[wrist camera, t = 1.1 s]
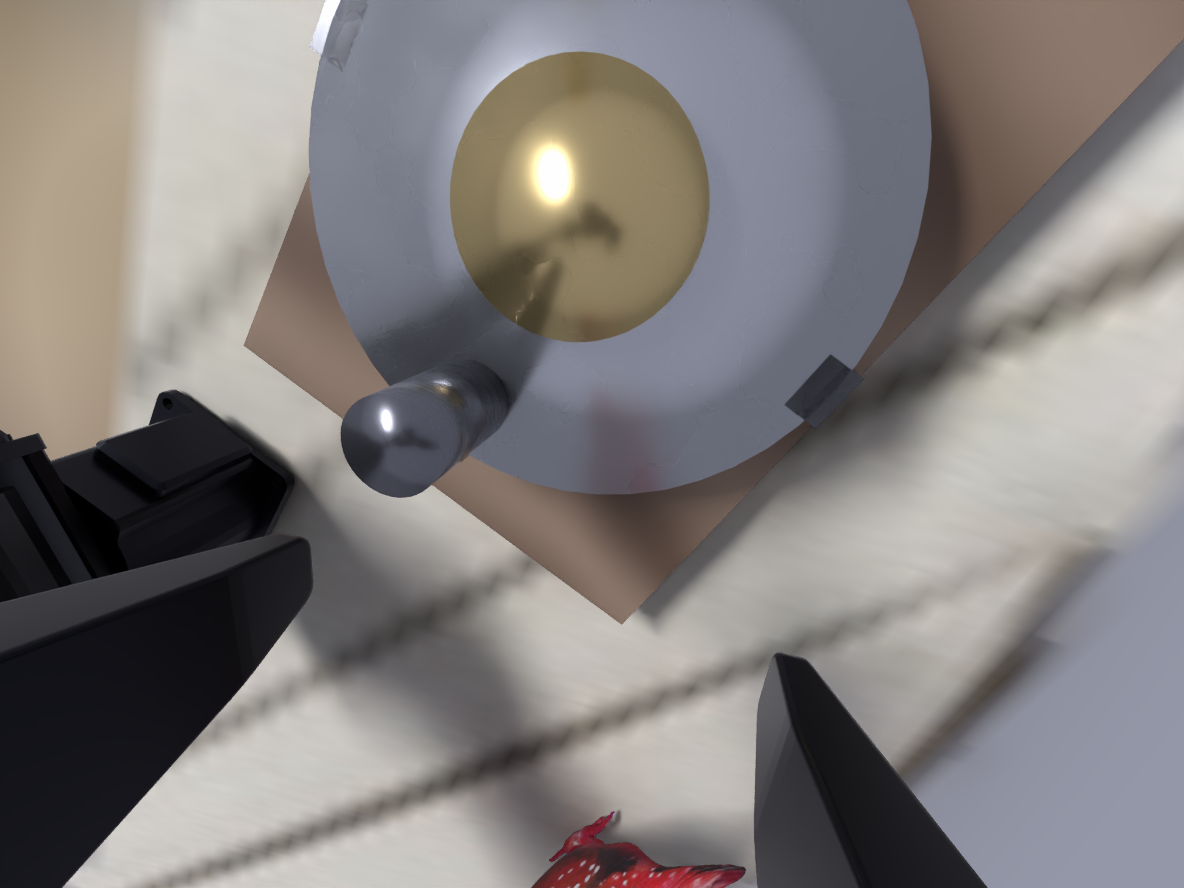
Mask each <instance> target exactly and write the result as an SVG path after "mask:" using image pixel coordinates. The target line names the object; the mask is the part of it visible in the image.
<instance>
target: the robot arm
mask: <svg viewBox="0 0 1184 888" xmlns="http://www.w3.org/2000/svg"><path fill="white" fill-rule="evenodd" d="M46 448H47V447H46V445H45V444H44V442H43V440H42V438H41V436H40V435H39V433H37V434H34V435H30V436H26V437H22V438H19V439H15V440H13V439H12V437H11V435H10V434H8V435H7V434H6V433H4V432H2V431H1V430H0V888H62V887H63V886H64V885H65V884H66V883H67V882H68V881H69V879H70V878H71V877H72V876H73V875H74V874H75V873H76V872H77V871H78V869H79V868H80V867H81V866H82V865H83V864H84V863H85V862H86V861H87V859H88V858H89V857H90V856H91V855H92V854H93V853H94V852H95V851H96V849H97V848H98V847H99V846H100V845H101V844H102V843H103V842H104V840H105V839H106V838H107V837H108V836H109V835H110V834H111V833H112V832H113V830H114V829H115V828H116V827H117V826H118V825H119V824H120V823H121V822H122V820H123V819H124V818H125V817H126V816H127V815H128V814H129V813H130V812H131V810H132V809H133V808H134V807H135V806H136V805H137V804H138V803H139V801H140V800H141V799H142V798H143V797H144V796H145V795H146V794H147V793H148V791H149V790H150V789H151V788H152V787H153V786H154V785H155V784H156V783H157V781H158V780H159V779H160V778H161V777H162V776H163V775H164V774H165V772H166V771H167V770H168V769H169V768H170V767H171V766H172V765H173V764H174V762H175V761H176V760H177V759H178V758H179V757H180V756H181V755H182V754H183V752H184V751H185V750H186V749H187V748H188V747H189V746H190V745H191V744H192V742H193V741H194V740H195V739H196V738H197V737H198V736H199V735H200V733H201V732H202V731H203V730H204V729H205V728H206V727H207V726H208V725H209V723H210V722H211V721H212V720H213V719H214V718H215V717H216V716H217V715H218V713H219V712H220V711H221V710H222V709H223V708H224V707H225V706H226V705H227V703H228V702H229V701H230V700H231V699H232V698H233V697H234V695H235V694H236V693H237V692H238V691H239V690H240V688H241V687H242V686H243V685H244V684H245V682H246V681H247V680H248V679H249V677H250V676H251V675H252V673H253V672H254V671H255V670H256V668H257V667H258V666H259V664H260V663H261V662H262V660H263V659H264V658H265V656H266V655H267V654H268V652H269V651H270V650H271V648H272V647H273V646H274V644H275V643H276V642H277V640H278V639H279V638H280V636H281V635H282V634H283V632H284V631H285V630H286V628H287V627H288V626H289V624H290V623H291V622H292V620H293V619H294V618H295V616H296V615H297V614H298V612H299V611H300V610H301V608H302V607H303V606H304V604H305V603H306V602H307V600H308V598H309V596H310V594H311V592H312V588H313V572H312V560H311V548H310V544H309V542H308V541H307V540H306V539H305V538H303V537H299V536H295V535H291V534H287V533H276V534H272V535H270V534H271V532H272V529H273V527H274V525H275V523H276V521H277V519H278V517H279V515H280V513H281V511H282V509H283V507H284V505H285V503H286V501H287V499H288V497H289V495H290V492H291V490H292V488H293V486H294V480H293V477H292V475H291V474H290V473H289V472H288V471H287V470H285V469H284V468H283V467H281V466H280V465H278V464H277V463H276V462H274V461H273V460H272V459H270V458H269V457H268V456H266V455H265V454H263V453H262V452H261V451H259V450H258V449H257V448H255V447H254V446H253V445H251V444H250V443H248V442H247V441H246V440H244V439H243V438H242V437H240V436H239V435H238V434H236V433H235V432H234V431H232V430H231V429H229V428H228V427H227V426H225V425H224V424H223V423H221V422H220V421H219V420H217V419H216V418H214V417H213V416H212V415H210V414H209V413H208V412H206V411H205V410H204V409H202V408H201V407H199V406H198V405H197V404H195V403H194V402H193V401H191V400H190V399H189V398H187V397H186V396H184V395H183V394H182V393H180V392H179V391H177V390H169V391H165V392H162V393H160V394H159V396H158V398H157V401H156V404H155V407H154V410H153V413H152V417H151V420H150V423H149V425H148V426H145V427H142V428H139V429H136V430H133V431H129V432H126V433H123V434H120V435H117V436H114V437H111V438H107V439H104V440H101V441H99V442H98V443H97V444H96V446H95V447H92V448H89V449H86V450H83V451H80V452H77V453H74V454H71V455H68V456H64V457H61V458H58V459H55V460H52V461H50V460H49V458H48V456H47V454H46V453H45V451H44V449H46ZM279 480H280V481H281V483H282V484H281V483H280V482H279ZM754 843H755V861H756V873H757V885H758V888H987V886H986V885H985V884H984V883H983V881H982V880H981V879H980V878H979V876H978V875H977V874H976V872H975V871H974V870H973V869H972V867H971V866H970V865H969V864H968V862H967V861H966V860H965V859H964V857H963V856H962V855H961V854H960V852H959V851H958V850H957V848H956V847H955V846H954V845H953V843H952V842H951V841H950V840H949V838H948V837H947V836H946V834H945V833H944V832H943V831H942V829H941V828H940V827H939V826H938V824H937V823H936V822H935V821H934V819H933V818H932V817H931V815H930V814H929V813H928V812H927V810H926V809H925V808H924V807H923V805H922V804H921V803H920V802H919V800H918V799H917V798H916V796H915V795H914V794H913V793H912V791H911V790H910V789H909V788H908V786H907V785H906V784H905V783H904V781H903V780H902V779H901V777H900V776H899V775H898V774H897V772H896V771H895V770H894V769H893V767H892V766H891V765H890V764H889V762H888V761H887V760H886V758H885V757H884V756H883V755H882V753H881V752H880V751H879V750H878V748H877V747H876V746H875V745H874V743H873V742H872V741H871V740H870V738H869V737H868V736H867V734H866V733H865V732H864V731H863V729H862V728H861V727H860V726H859V724H858V723H857V722H856V721H855V719H854V718H853V717H852V715H851V714H850V713H849V712H848V710H847V709H846V708H845V707H844V705H843V704H842V703H841V702H840V700H839V699H838V698H837V696H836V695H835V694H834V693H833V691H832V690H831V689H830V688H829V686H828V685H827V684H826V683H825V681H824V680H823V679H822V677H821V676H820V675H819V674H818V672H817V671H816V670H815V669H814V667H813V666H812V665H811V664H810V663H809V662H808V661H807V660H806V659H804V658H801V657H796V656H792V655H788V654H784V653H776V654H774V655H773V657H772V659H771V662H770V665H769V668H768V672H767V675H766V678H765V682H764V685H763V689H762V692H761V696H760V699H759V704H758V712H757V735H756V769H755V804H754Z"/></svg>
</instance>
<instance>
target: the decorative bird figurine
mask: <svg viewBox="0 0 1184 888" xmlns="http://www.w3.org/2000/svg"><path fill="white" fill-rule="evenodd" d="M614 812H615V811H613V812H611V813H610V815H609V816H607V818H606V819H605V820H604V817H601V818H599V819H598V820H597V821H596V822H595V823H593V824H592V825H589V826H586V827H584V828H583V829H582V830H579V831H577V832H574V833H573V834H572V835H571V836H569V837H568V839H567V840H566V841H565V843H564V846H563V848H562V849H561V850H559V851H558V852H557V853H556V854H555V855H554V856H553V857H552V858H551V859H549V861H550V862H553V861H555V860H557V859H558V858H559V856H561V855H562V854H564V853H568V854H566V855H565V856H563V857H562V858H561V859H559V860H558V861H557V862H556V863H555V864H554V865H553V866H552V867H551V868H550V869H549V870H548V871H547V872H546V873H544V875H543V876H542V877H541V878H540V879H539V880H538V881H537V882H536V883H535V884H534V885H533V887H532V888H725V887H726V886H727V885H730V884H732V883H734V882H736V881H738V880H739V879H740V878H742V877H743V875H744V874H745V871H746V869H745V868H744V867H739V866H735V865H703V866H700V865H699V866H678V867H665V866H662V865H659V864H657V863H655V862H654V861H652V860H651V859H650V858H649V857H647V856H646V855H645V854H644V853H643V852H642V851H641V850H640V849H639V848H638V847H637V846H635V845H633V844H631V843H615V844H604V843H603V842H602V841H601V840H599V839H596V834H597V833H600V832H601V831H602V830H603V829H604V828H605V827H606V826H607V824H608V823H609V822H610V819H611V818H612V816H613V814H614ZM599 824H600V825H599Z"/></svg>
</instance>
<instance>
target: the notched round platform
mask: <svg viewBox="0 0 1184 888" xmlns="http://www.w3.org/2000/svg"><path fill="white" fill-rule="evenodd" d="M310 48H312V49H313V50H314V51H316V52H317V53H318V54H320V55H321V59H320V62H319V67H318V73H317V78H316V84H315V90H314V95H313V101H312V107H311V123H310V138H309V166H310V190H311V197H312V204H313V211H314V218H315V225H316V231H317V235H318V239H319V242H320V246H321V250H322V254H323V258H324V262H325V266H326V269H327V272H328V275H329V277H330V280H331V283H332V286H333V288H334V291H335V294H336V297H337V299H338V302H339V304H340V306H341V308H342V310H343V312H344V315H345V317H346V319H347V321H348V323H349V325H350V327H351V329H352V331H353V333H354V335H355V337H356V338H357V340H358V342H359V343H360V345H361V346H362V348H363V350H364V351H365V353H366V354H367V356H368V358H369V359H370V361H371V362H372V364H373V366H374V367H375V368H376V369H377V371H378V372H379V373H380V375H381V376H382V377H383V378H384V380H385V381H386V382H387V384H388V385H389V387H387V388H385V389H382V390H380V391H378V392H375V393H373V394H371V395H368V396H366V397H364V398H361V399H360V400H358V401H356V402H355V403H354V404H353V405H352V406H351V407H350V408H349V409H348V411H347V413H346V414H345V416H344V419H343V422H342V426H341V444H342V448H343V452H344V455H345V457H346V460H347V462H348V464H349V465H350V467H351V468H352V470H353V471H354V473H355V474H356V475H357V476H358V477H359V478H360V479H361V480H362V481H363V482H364V483H365V484H366V485H367V486H369V487H370V488H372V489H373V490H375V491H377V492H379V493H382V494H384V495H387V496H391V497H398V498H401V497H411V496H414V495H417V494H419V493H421V492H423V491H424V490H425V489H427V488H428V487H429V486H430V485H432V484H433V483H434V482H435V481H437V480H438V479H439V478H440V477H441V476H443V475H444V474H445V473H446V472H448V471H449V470H450V469H451V468H452V467H454V466H455V465H456V464H457V463H459V462H462V461H463V460H465V459H466V458H467V457H468V456H469V455H470V456H471V457H473V458H475V459H477V460H479V461H481V462H483V463H485V464H487V465H489V466H491V467H493V468H495V469H497V470H499V471H501V472H503V473H506V474H509V475H511V476H514V477H517V478H519V479H522V480H525V481H528V482H530V483H534V484H538V485H542V486H546V487H551V488H555V489H559V490H563V491H571V492H580V493H589V494H636V493H643V492H651V491H658V490H666V489H669V488H673V487H677V486H681V485H685V484H689V483H692V482H696V481H700V480H702V479H705V478H707V477H710V476H712V475H715V474H717V473H720V472H722V471H725V470H727V469H730V468H732V467H735V466H736V465H738V464H740V463H742V462H744V461H746V460H747V459H749V458H751V457H753V456H755V455H756V454H758V453H760V452H762V451H764V450H765V449H767V448H769V447H770V446H771V445H773V444H774V443H776V442H777V441H778V440H780V439H781V438H782V437H784V436H785V435H787V434H788V433H789V432H791V431H792V430H793V429H795V428H796V427H798V426H799V425H800V424H801V423H802V422H803V421H804V420H805V421H806V422H808V423H809V424H810V425H812V426H813V427H814V428H815V429H816V428H817V427H818V426H819V425H820V424H821V423H822V422H823V421H824V420H825V419H826V418H827V417H828V416H829V415H830V413H831V412H832V411H833V410H834V409H835V408H836V407H837V406H838V405H839V404H840V403H841V402H842V401H843V400H844V399H845V398H846V397H847V396H848V395H849V394H850V393H851V392H852V391H853V390H854V389H855V388H856V387H857V386H858V384H859V383H860V382H861V381H862V380H863V378H862V377H861V376H860V375H859V374H858V373H857V372H856V371H855V370H854V369H853V368H854V367H855V366H856V365H857V364H858V362H859V360H860V359H861V357H862V356H863V354H864V353H865V351H866V350H867V348H868V347H869V345H870V344H871V342H872V340H873V339H874V337H875V336H876V334H877V333H878V331H879V330H880V328H881V327H882V325H883V323H884V320H885V318H886V316H887V314H888V312H889V310H890V308H891V306H892V304H893V302H894V300H895V298H896V296H897V294H898V292H899V290H900V287H901V285H902V283H903V280H904V277H905V274H906V271H907V268H908V265H909V262H910V260H911V257H912V254H913V251H914V248H915V245H916V242H917V239H918V235H919V230H920V225H921V220H922V215H923V210H924V205H925V200H926V195H927V191H928V181H929V167H930V153H931V139H932V133H931V116H930V100H929V84H928V78H927V73H926V69H925V64H924V59H923V54H922V49H921V44H920V39H919V34H918V30H917V27H916V24H915V21H914V18H913V16H912V13H911V10H910V7H909V4H908V2H907V0H326V1H325V4H324V7H323V10H322V13H321V16H320V19H319V21H318V24H317V27H316V30H315V33H314V36H313V39H312V42H311V44H310Z"/></svg>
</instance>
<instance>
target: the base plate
mask: <svg viewBox="0 0 1184 888" xmlns="http://www.w3.org/2000/svg"><path fill="white" fill-rule="evenodd" d="M907 2H908V4H909V7H910V10H911V13H912V16H913V18H914V21H915V24H916V27H917V30H918V34H919V39H920V44H921V49H922V54H923V59H924V64H925V69H926V73H927V78H928V84H929V100H930V116H931V133H932V139H931V153H930V167H929V181H928V191H927V195H926V200H925V205H924V210H923V215H922V220H921V225H920V230H919V235H918V239H917V242H916V245H915V248H914V251H913V254H912V257H911V260H910V262H909V265H908V268H907V271H906V274H905V277H904V280H903V283H902V285H901V287H900V290H899V292H898V294H897V296H896V298H895V300H894V302H893V304H892V306H891V308H890V310H889V312H888V314H887V316H886V318H885V320H884V323H883V325H882V327H881V328H880V330H879V331H878V333H877V334H876V336H875V337H874V339H873V340H872V342H871V344H870V345H869V347H868V348H867V350H866V351H865V353H864V354H863V356H862V357H861V359H860V360H859V362H858V364H857V365H856V366H855V367H854V368H853V369H854V370H855V371H856V372H857V373H858V374H859V375H860V376H861V375H862V374H863V373H864V372H865V370H866V369H867V368H868V367H869V366H870V365H871V364H872V363H873V362H874V361H875V360H876V359H877V358H878V357H879V356H880V355H881V354H882V353H883V352H884V351H885V350H886V349H887V348H888V346H889V345H890V344H891V343H892V342H893V341H894V340H895V339H896V338H897V337H898V336H899V335H900V334H901V333H902V332H903V331H904V330H905V329H906V328H907V327H908V326H909V325H910V324H911V323H912V321H913V320H914V319H915V318H916V317H917V316H918V315H919V314H920V313H921V312H922V311H923V310H924V309H925V308H926V307H927V306H928V305H929V304H930V303H931V302H932V301H933V300H934V299H935V297H936V296H937V295H938V294H939V293H940V292H941V291H942V290H943V289H944V288H945V287H946V286H947V285H948V284H949V283H950V282H951V281H952V280H953V279H954V278H955V277H956V276H957V275H958V274H959V272H960V271H961V270H962V269H963V268H964V267H965V266H966V265H967V264H968V263H969V262H970V261H971V260H972V259H973V258H974V257H975V256H976V255H977V254H978V253H979V252H980V251H981V250H982V248H983V247H984V246H985V245H986V244H987V243H988V242H989V241H990V240H991V239H992V238H993V237H994V236H995V235H996V234H997V233H998V232H999V231H1000V230H1001V229H1002V228H1003V227H1004V226H1005V225H1006V223H1007V222H1008V221H1009V220H1010V219H1011V218H1012V217H1013V216H1014V215H1015V214H1016V213H1017V212H1018V211H1019V210H1020V209H1021V208H1022V207H1023V206H1024V205H1025V204H1026V203H1027V202H1028V201H1029V199H1030V198H1031V197H1032V196H1033V195H1034V194H1035V193H1036V192H1037V191H1038V190H1039V189H1040V188H1041V187H1042V186H1043V185H1044V184H1045V183H1046V182H1047V181H1048V180H1049V179H1050V178H1051V177H1052V176H1053V174H1054V173H1055V172H1056V171H1057V170H1058V169H1059V168H1060V167H1061V166H1062V165H1063V164H1064V163H1065V162H1066V161H1067V160H1068V159H1069V158H1070V157H1071V156H1072V155H1073V154H1074V153H1075V152H1076V150H1077V149H1078V148H1079V147H1080V146H1081V145H1082V144H1083V143H1084V142H1085V141H1086V140H1087V139H1088V138H1089V137H1090V136H1091V135H1092V134H1093V133H1094V132H1095V131H1096V130H1097V129H1098V128H1099V127H1100V125H1101V124H1102V123H1103V122H1104V121H1105V120H1106V119H1107V118H1108V117H1109V116H1110V115H1111V114H1112V113H1113V112H1114V111H1115V110H1116V109H1117V108H1118V107H1119V106H1120V105H1121V104H1122V103H1123V101H1124V100H1125V99H1126V98H1127V97H1128V96H1129V95H1130V94H1131V93H1132V92H1133V91H1134V90H1135V89H1136V88H1137V87H1138V86H1139V85H1140V84H1141V83H1142V82H1143V81H1144V80H1145V79H1146V78H1147V76H1148V75H1149V74H1150V73H1151V72H1152V71H1153V70H1154V69H1155V68H1156V67H1157V66H1158V65H1159V64H1160V63H1161V62H1162V61H1163V60H1164V59H1165V58H1166V57H1167V56H1168V55H1169V54H1170V53H1171V51H1172V50H1173V49H1174V48H1175V47H1176V46H1177V45H1178V44H1179V43H1180V42H1181V41H1182V40H1183V39H1184V0H907ZM244 346H245V347H246V348H248V349H249V350H250V351H252V352H253V353H255V354H256V355H257V356H259V357H260V358H261V359H263V360H264V361H265V362H267V363H268V364H269V365H271V366H272V367H273V368H275V369H276V370H278V371H279V372H280V373H282V374H283V375H284V376H286V377H287V378H288V379H290V380H291V381H292V382H294V383H295V384H297V385H298V386H299V387H301V388H302V389H303V390H305V391H306V392H307V393H309V394H310V395H311V396H313V397H314V398H315V399H317V400H318V401H320V402H321V403H322V404H324V405H325V406H326V407H328V408H329V409H330V410H332V411H333V412H334V413H336V414H337V415H338V416H340V417H341V418H343V419H344V416H345V414H346V413H347V411H348V409H349V408H350V407H351V406H352V405H353V404H354V403H355V402H356V401H358V400H360V399H361V398H364V397H366V396H368V395H371V394H373V393H375V392H378V391H380V390H382V389H385V388H387V387H389V385H388V384H387V382H386V381H385V380H384V378H383V377H382V376H381V375H380V373H379V372H378V371H377V369H376V368H375V367H374V366H373V364H372V362H371V361H370V359H369V358H368V356H367V354H366V353H365V351H364V350H363V348H362V346H361V345H360V343H359V342H358V340H357V338H356V337H355V335H354V333H353V331H352V329H351V327H350V325H349V323H348V321H347V319H346V317H345V315H344V312H343V310H342V308H341V306H340V304H339V302H338V299H337V297H336V294H335V291H334V288H333V286H332V283H331V280H330V277H329V275H328V272H327V269H326V266H325V262H324V258H323V254H322V250H321V246H320V242H319V239H318V235H317V231H316V225H315V218H314V211H313V204H312V197H311V190H310V173H309V176H308V178H307V181H306V183H305V186H304V189H303V191H302V194H301V197H300V199H299V202H298V204H297V207H296V210H295V212H294V215H293V218H292V220H291V223H290V225H289V228H288V231H287V233H286V236H285V239H284V241H283V244H282V247H281V249H280V252H279V254H278V257H277V260H276V262H275V265H274V268H273V270H272V273H271V275H270V278H269V281H268V283H267V286H266V289H265V291H264V294H263V296H262V299H261V302H260V304H259V307H258V310H257V312H256V315H255V317H254V320H253V323H252V325H251V328H250V331H249V333H248V336H247V338H246V341H245V344H244ZM811 427H812V425H810V424H809V423H808V422H806V421H805V420H804V421H803V422H802V423H801V424H800V425H799V426H798V427H796V428H795V429H793V430H792V431H791V432H789V433H788V434H787V435H785V436H784V437H782V438H781V439H780V440H778V441H777V442H776V443H774V444H773V445H771V446H770V447H769V448H767V449H765V450H764V451H762V452H760V453H758V454H756V455H755V456H753V457H751V458H749V459H747V460H746V461H744V462H742V463H740V464H738V465H736V466H735V467H732V468H730V469H727V470H725V471H722V472H720V473H717V474H715V475H712V476H710V477H707V478H705V479H702V480H700V481H696V482H692V483H689V484H685V485H681V486H677V487H673V488H669V489H666V490H658V491H651V492H643V493H636V494H589V493H580V492H571V491H563V490H559V489H555V488H551V487H546V486H542V485H538V484H534V483H530V482H528V481H525V480H522V479H519V478H517V477H514V476H511V475H509V474H506V473H503V472H501V471H499V470H497V469H495V468H493V467H491V466H489V465H487V464H485V463H483V462H481V461H479V460H477V459H475V458H473V457H471V456H470V455H469V456H468V457H467V458H466V459H465V460H463V461H462V462H459V463H457V464H456V465H455V466H454V467H452V468H451V469H450V470H449V471H448V472H446V473H445V474H444V475H443V476H441V477H440V478H439V479H438V480H437V481H435V482H434V483H433V484H432V485H433V486H435V487H436V488H437V489H439V490H440V491H441V492H443V493H444V494H445V495H447V496H448V497H450V498H451V499H452V500H454V501H455V502H456V503H458V504H459V505H460V506H462V507H463V508H464V509H466V510H467V511H468V512H470V513H471V514H473V515H474V516H475V517H477V518H478V519H479V520H481V521H482V522H483V523H485V524H486V525H487V526H489V527H490V528H492V529H493V530H494V531H496V532H497V533H498V534H500V535H501V536H502V537H504V538H505V539H506V540H508V541H509V542H510V543H512V544H513V545H515V546H516V547H517V548H519V549H520V550H521V551H523V552H524V553H525V554H527V555H528V556H529V557H531V558H532V559H533V560H535V561H536V562H538V563H539V564H540V565H542V566H543V567H544V568H546V569H547V570H548V571H550V572H551V573H552V574H554V575H555V576H557V577H558V578H559V579H561V580H562V581H563V582H565V583H566V584H567V585H569V586H570V587H571V588H573V589H574V590H575V591H577V592H578V593H580V594H581V595H582V596H584V597H585V598H586V599H588V600H589V601H590V602H592V603H593V604H594V605H596V606H597V607H598V608H600V609H601V610H603V611H604V612H605V613H607V614H608V615H609V616H611V617H612V618H613V619H615V620H616V621H617V622H619V623H620V624H623V623H624V622H625V621H626V620H627V619H628V618H629V617H630V615H631V614H632V613H633V612H634V611H635V610H636V609H637V608H638V607H639V606H640V605H641V604H642V603H643V602H644V601H645V600H646V599H647V598H648V597H649V596H650V595H651V594H652V593H653V591H654V590H655V589H656V588H657V587H658V586H659V585H660V584H661V583H662V582H663V581H664V580H665V579H666V578H667V577H668V576H669V575H670V574H671V573H672V572H673V571H674V570H675V569H676V568H677V566H678V565H679V564H680V563H681V562H682V561H683V560H684V559H685V558H686V557H687V556H688V555H689V554H690V553H691V552H692V551H693V550H694V549H695V548H696V547H697V546H698V545H699V544H700V542H701V541H702V540H703V539H704V538H705V537H706V536H707V535H708V534H709V533H710V532H711V531H712V530H713V529H714V528H715V527H716V526H717V525H718V524H719V523H720V522H721V521H722V520H723V519H724V517H725V516H726V515H727V514H728V513H729V512H730V511H731V510H732V509H733V508H734V507H735V506H736V505H737V504H738V503H739V502H740V501H741V500H742V499H743V498H744V497H745V496H746V495H747V493H748V492H749V491H750V490H751V489H752V488H753V487H754V486H755V485H756V484H757V483H758V482H759V481H760V480H761V479H762V478H763V477H764V476H765V475H766V474H767V473H768V472H769V471H770V470H771V468H772V467H773V466H774V465H775V464H776V463H777V462H778V461H779V460H780V459H781V458H782V457H783V456H784V455H785V454H786V453H787V452H788V451H789V450H790V449H791V448H792V447H793V446H794V444H795V443H796V442H797V441H798V440H799V439H800V438H801V437H802V436H803V435H804V434H805V433H806V432H807V431H808V430H809V429H810V428H811Z"/></svg>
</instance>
